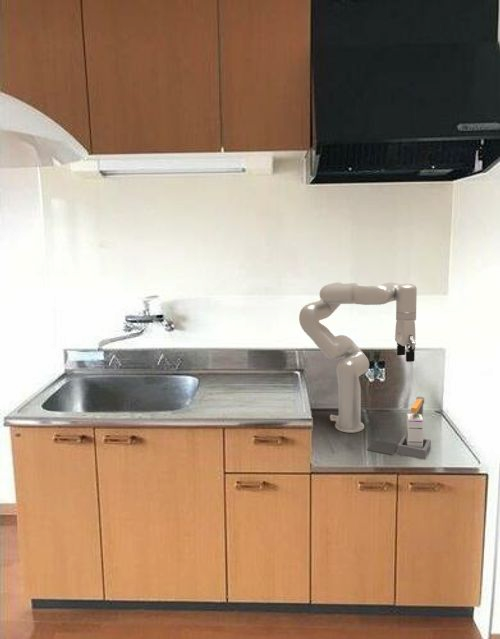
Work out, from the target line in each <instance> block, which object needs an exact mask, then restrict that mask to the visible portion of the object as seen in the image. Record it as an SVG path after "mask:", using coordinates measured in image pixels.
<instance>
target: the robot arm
mask: <svg viewBox="0 0 500 639" xmlns="http://www.w3.org/2000/svg"><path fill="white" fill-rule="evenodd" d="M417 288H418V287H417V286H416V285H415V284H413V283H404V284H403V283H396V282H386V283H382V284H379V285H366V286H365V285H364V286H363V285H358V284H357V283H353V282H352V283H342V282H332V283H328V284H326V285H324V286H323V287H322V288H320V291H319V298H320V300H317V301H313V302H311V303H308V304H305V305H303V307H302V308H301V310H300V311H299V314H298V316H299V317H298V320H299V321H298V322H299V324H300V328H301V329H302V330H303V332H304V333H305V334H306V335H307V336H308V337H309V338H310V339H311V340H312V342H313V343H314V344H315V345H316V346H317V348H318V349H319V350H320V351H321V352H322V354H323V355H324V356H325V357H326V358H328V360H330V361H337V360H339V359H341V360H340V361H339V362H338V364H337V366H336V371H335V373H336V377H337V384H338V385H337V386H338V387H337V388H338V392H337V393H338V415H335V414H330V415H329V419H330V421H332V422H335V423H334V427H335V429H336V430H337V431H339V432H343V433H347V434H352V433H353V434H354V433H359V432H362V431H363V430H364V429H365V424H364V423H363V422H362V420H361V418H362V416H361V414H362V413H361V408H362V407H361V406H362V396H361V395H362V394H361V393H362V391H361V390H362V389H361V388H362V387H361V383H360V378H359V377H361V375H364V374H365V373H367V371H369V370H368V369H369V368H370V361H369V358H368V357H367V356H366V355H365V353H364V352H363V351H362V349H360V347H359V346H358V345H357V344H356V343H355V341H354V340H352V338H350V337H349V336H347V335H344V334H343V335H342V334H339V335H336V336H335V335H334V334H333V333H332V332H331V331H330V329H329V328H328V327H326V325H324V324H322V323H321V322H320V321H322V320H324V319H325V320H326V319H327V318H329V317H330V316H331V315H332V314H333V313H334V312H336V310H337V309H338V308H339V307H340V306H341V305H352V304H353V305H364V306H371V305H373V306H374V305H375V306H377V305H378V306H380V305H386V304H388V303H391V302H394V301H395V305H396V306H395V320H396V322H395V332H394V334H395V335H394V340H395V342H396V355H397V356H405V361H406V362H407V363H409V362H410V363H411V362H415V353H416V352H415V351H416V345H417V344H416V323H415V322H416V320H417V296H418V295H417V292H418V290H417Z"/></svg>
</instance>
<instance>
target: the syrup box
mask: <svg viewBox="0 0 500 639" xmlns="http://www.w3.org/2000/svg"><path fill="white" fill-rule="evenodd" d="M406 436H407V440H406V446H411V447H417V448H422V449H423V439H424V417H423V418H422V415H421V414H417V413H406Z"/></svg>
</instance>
